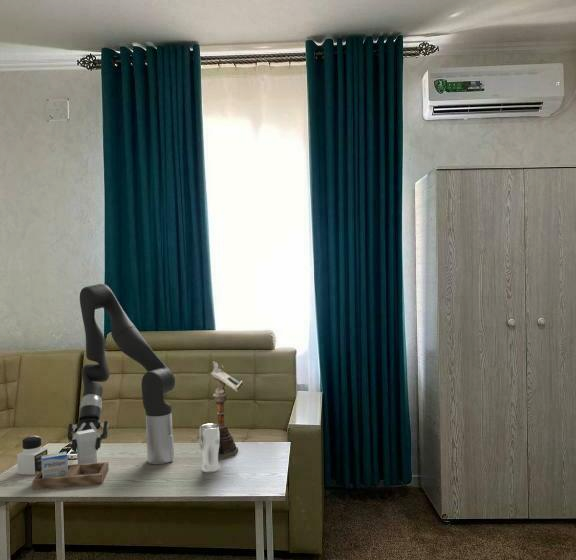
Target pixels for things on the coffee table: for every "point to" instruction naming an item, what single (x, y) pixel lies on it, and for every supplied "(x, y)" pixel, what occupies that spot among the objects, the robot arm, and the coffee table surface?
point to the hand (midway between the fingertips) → (85, 450)
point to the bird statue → (226, 440)
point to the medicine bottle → (31, 456)
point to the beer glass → (209, 447)
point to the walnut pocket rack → (74, 476)
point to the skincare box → (86, 446)
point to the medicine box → (54, 465)
